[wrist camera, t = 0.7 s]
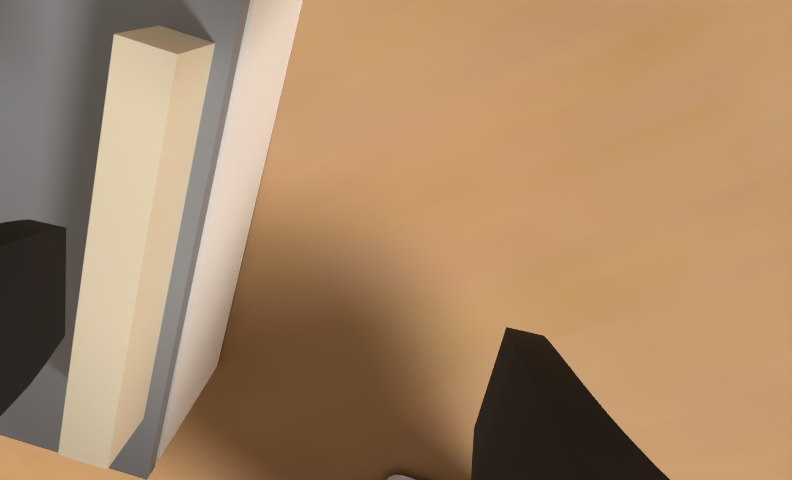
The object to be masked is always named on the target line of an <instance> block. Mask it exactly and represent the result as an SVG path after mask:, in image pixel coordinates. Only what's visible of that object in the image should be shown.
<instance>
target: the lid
mask: <svg viewBox="0 0 792 480" xmlns="http://www.w3.org/2000/svg"><path fill="white" fill-rule="evenodd" d="M249 4H250V0H0V223H4V222H10V221H17V220H27V219H30V220H35V221H39V222H44V223H48V224H52V225H57V226H61V227H66V303H65V336H64V338H63V339H62V341H61V342H60V344H59V345H58V347H57V348H56V350H55V351H54V353H53V354H52V355H51V357H50V358H49V360H48V361H47V363H46V364H45V365H44V367H43V368H42V369H41V371H40V372H39V374H38V375H37V376H36V378H35V379H34V380H33V382H32V383H31V384H30V385H29V386H28V387H27V389H26V390H25V391H24V392H23V393H22V394H21V395H20V396H19V397H18V398H17V399H16V400H15V401H14V402H13V404H12V405H11V406H10V407H9V408H8V409H7V410H6V411H5V412H4V413H3V414H2V415H1V416H0V435H2V436H6V437H9V438H12V439H15V440H19V441H22V442H25V443H29V444H32V445H35V446H38V447H42V448H45V449H48V450H52V451H55V452H58V455H60V456H63V457H66V458H69V459H73V460H76V461H79V462H82V463H86V464H89V465H92V466H96V467H99V468H102V469H105V470H107V469H108V468H111V469H114V470H117V471H120V472H124V473H127V474H130V475H134V476H137V477H140V478H143V479H147V478H148V477H149V475H150V474H151V472H152V470H153V469H154V467H155V462H156V457H157V452H158V447H159V443H160V438H161V433H162V428H163V423H164V418H165V413H166V409H167V404H168V399H169V394H170V389H171V384H172V379H173V374H174V370H175V365H176V360H177V355H178V350H179V345H180V340H181V335H182V331H183V326H184V321H185V316H186V311H187V306H188V301H189V296H190V292H191V287H192V282H193V277H194V272H195V267H196V262H197V257H198V253H199V248H200V243H201V238H202V233H203V228H204V223H205V218H206V214H207V209H208V204H209V199H210V194H211V189H212V184H213V179H214V175H215V170H216V165H217V160H218V155H219V150H220V145H221V141H222V136H223V131H224V126H225V121H226V116H227V111H228V106H229V102H230V97H231V92H232V87H233V82H234V77H235V72H236V67H237V63H238V58H239V53H240V48H241V43H242V38H243V33H244V28H245V24H246V19H247V14H248V9H249Z"/></svg>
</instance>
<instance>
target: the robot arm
mask: <svg viewBox="0 0 792 480" xmlns="http://www.w3.org/2000/svg"><path fill="white" fill-rule="evenodd" d="M65 303H66V227H61V226H57V225H52V224H48V223H44V222H39V221H35V220H30V219H27V220H17V221H10V222H4V223H0V416H1V415H2V414H3V413H4V412H5V411H6V410H7V409H8V408H9V407H10V406H11V405H12V404H13V402H14V401H15V400H16V399H17V398H18V397H19V396H20V395H21V394H22V393H23V392H24V391H25V390H26V389H27V387H28V386H29V385H30V384H31V383H32V382H33V380H34V379H35V378H36V376H37V375H38V374H39V372H40V371H41V369H42V368H43V367H44V365H45V364H46V363H47V361H48V360H49V358H50V357H51V355H52V354H53V353H54V351H55V350H56V348H57V347H58V345H59V344H60V342H61V341H62V339H63V338H64V336H65ZM387 480H416V479H412V478H409V477H406V476H403V475H393V476H391V477H389V478H388V479H387ZM471 480H670V479H669V478H668V477H667V476H666V475H665V474H664V473H663V472H661V471H660V470H659V469H658V468H657V467H656V466H655V465H654V464H653V463H652V462H651V461H650V460H649V458H648V457H647V456H646V455H645V454H644V453H643V452H642V451H641V450H640V449H639V448H638V447H637V446H636V445H635V444H634V443H633V441H632V440H631V439H630V438H629V437H628V436H627V435H626V434H625V433H624V432H623V431H622V430H621V428H620V427H619V426H618V425H617V424H616V423H615V422H614V420H613V419H612V418H611V417H610V416H609V415H608V414H607V412H606V411H605V410H604V409H603V408H602V406H601V405H600V404H599V403H598V402H597V400H596V399H595V398H594V397H593V396H592V394H591V393H590V392H589V391H588V389H587V388H586V387H585V386H584V385H583V383H582V382H581V381H580V380H579V378H578V377H577V376H576V374H575V373H574V372H573V371H572V369H571V368H570V367H569V366H568V364H567V363H566V362H565V361H564V359H563V358H562V357H561V355H560V354H559V353H558V352H557V350H556V349H555V348H554V347H553V346H552V344H551V343H550V342H549V341H548V340H547V339H546V338H545V337H544V336H543V335H538V334H534V333H529V332H525V331H520V330H516V329H512V328H507V327H506V330H505V333H504V337H503V340H502V343H501V346H500V349H499V352H498V355H497V358H496V362H495V365H494V368H493V371H492V374H491V377H490V380H489V384H488V387H487V390H486V393H485V396H484V399H483V402H482V405H481V409H480V412H479V415H478V418H477V421H476V424H475V427H474V440H473V455H472V475H471Z"/></svg>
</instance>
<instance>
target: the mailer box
mask: <svg viewBox="0 0 792 480" xmlns="http://www.w3.org/2000/svg"><path fill="white" fill-rule="evenodd" d="M302 2H303V0H250V4H249V9H248V14H247V19H246V24H245V28H244V33H243V38H242V43H241V48H240V53H239V58H238V63H237V67H236V72H235V77H234V82H233V87H232V92H231V97H230V102H229V106H228V111H227V116H226V121H225V126H224V131H223V136H222V141H221V145H220V150H219V155H218V160H217V165H216V170H215V175H214V179H213V184H212V189H211V194H210V199H209V204H208V209H207V214H206V218H205V223H204V228H203V233H202V238H201V243H200V248H199V253H198V257H197V262H196V267H195V272H194V277H193V282H192V287H191V292H190V296H189V301H188V306H187V311H186V316H185V321H184V326H183V331H182V335H181V340H180V345H179V350H178V355H177V360H176V365H175V370H174V374H173V379H172V384H171V389H170V394H169V399H168V404H167V409H166V413H165V418H164V423H163V428H162V433H161V438H160V443H159V447H158V452H157V457H156V459H157V460H159V459H160V457H161V456H162V454H163V453H164V451H165V449H166V448H167V446H168V445H169V443H170V441H171V440H172V438H173V437H174V435H175V433H176V432H177V430H178V428H179V427H180V425H181V424H182V422H183V420H184V419H185V417H186V416H187V414H188V412H189V411H190V409H191V408H192V406H193V404H194V403H195V401H196V400H197V398H198V396H199V395H200V393H201V391H202V390H203V388H204V387H205V385H206V383H207V382H208V380H209V379H210V377H211V375H212V374H213V372H214V371H215V369H216V367H217V365H218V361H219V357H220V353H221V348H222V344H223V340H224V335H225V331H226V327H227V323H228V318H229V314H230V310H231V306H232V301H233V297H234V293H235V288H236V284H237V280H238V276H239V271H240V267H241V263H242V259H243V254H244V250H245V246H246V241H247V237H248V233H249V229H250V224H251V220H252V216H253V212H254V207H255V203H256V199H257V194H258V190H259V186H260V182H261V177H262V173H263V169H264V165H265V160H266V156H267V152H268V147H269V143H270V139H271V135H272V130H273V126H274V122H275V118H276V113H277V109H278V105H279V100H280V96H281V92H282V88H283V83H284V79H285V75H286V71H287V66H288V62H289V58H290V53H291V49H292V45H293V41H294V36H295V32H296V28H297V24H298V19H299V15H300V11H301V6H302Z"/></svg>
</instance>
